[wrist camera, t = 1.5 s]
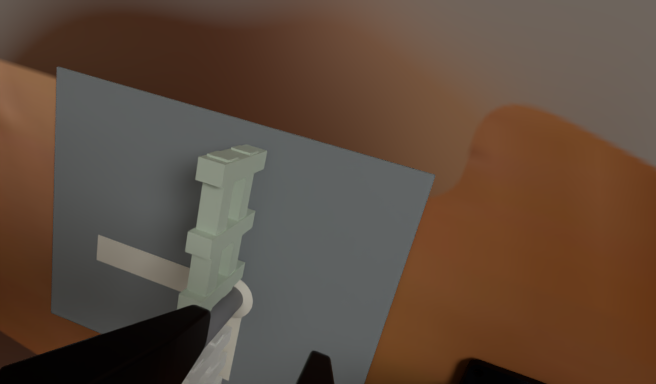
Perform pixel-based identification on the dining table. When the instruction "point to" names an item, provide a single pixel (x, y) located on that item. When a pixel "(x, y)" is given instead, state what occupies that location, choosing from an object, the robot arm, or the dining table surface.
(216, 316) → the fixed fence panel
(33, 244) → the dining table surface
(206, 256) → the hinged fence panel
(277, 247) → the mat
